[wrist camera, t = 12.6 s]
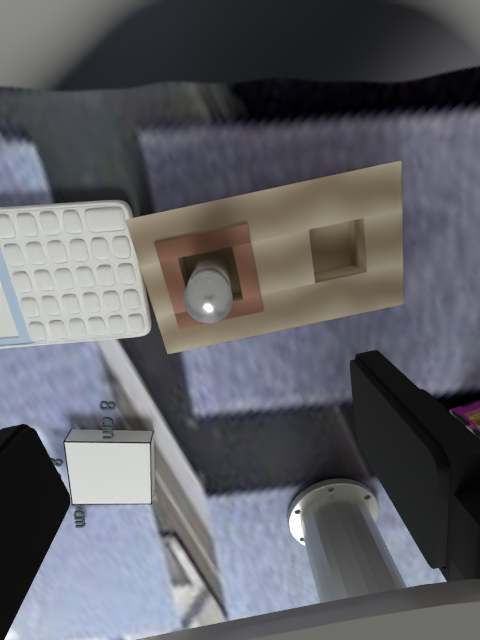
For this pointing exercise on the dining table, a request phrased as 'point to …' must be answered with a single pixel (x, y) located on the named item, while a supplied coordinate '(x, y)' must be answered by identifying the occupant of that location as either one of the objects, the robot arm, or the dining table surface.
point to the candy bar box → (469, 416)
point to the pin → (209, 290)
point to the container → (109, 466)
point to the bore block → (279, 255)
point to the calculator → (69, 275)
